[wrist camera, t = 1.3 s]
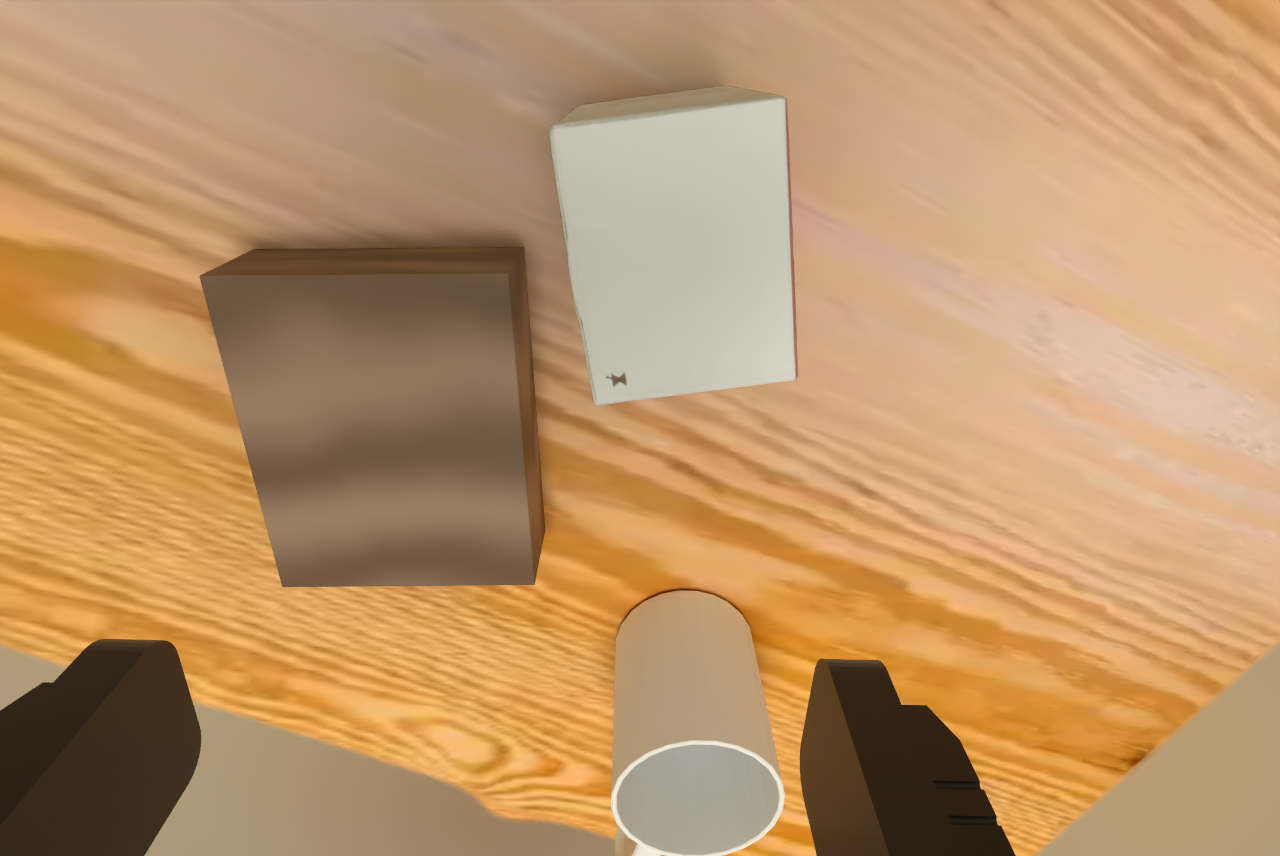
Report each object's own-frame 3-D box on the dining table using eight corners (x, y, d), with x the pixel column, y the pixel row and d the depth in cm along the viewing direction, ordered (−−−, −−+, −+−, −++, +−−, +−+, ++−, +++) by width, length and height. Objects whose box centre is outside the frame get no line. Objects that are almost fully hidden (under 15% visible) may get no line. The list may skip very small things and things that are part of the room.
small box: (742, 275, 34) (801, 387, 22) (604, 293, 34) (590, 413, 23) (729, 80, 30) (790, 91, 19) (575, 101, 31) (540, 126, 19)
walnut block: (257, 247, 34) (199, 275, 29) (525, 245, 34) (508, 273, 29) (322, 528, 40) (282, 586, 36) (545, 526, 40) (534, 584, 36)
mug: (649, 568, 41) (654, 719, 32) (776, 614, 43) (817, 771, 33) (567, 717, 46) (550, 887, 36) (683, 753, 47) (696, 925, 38)
